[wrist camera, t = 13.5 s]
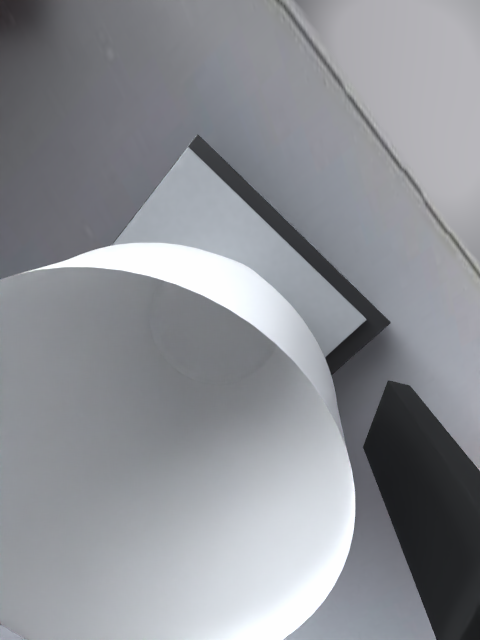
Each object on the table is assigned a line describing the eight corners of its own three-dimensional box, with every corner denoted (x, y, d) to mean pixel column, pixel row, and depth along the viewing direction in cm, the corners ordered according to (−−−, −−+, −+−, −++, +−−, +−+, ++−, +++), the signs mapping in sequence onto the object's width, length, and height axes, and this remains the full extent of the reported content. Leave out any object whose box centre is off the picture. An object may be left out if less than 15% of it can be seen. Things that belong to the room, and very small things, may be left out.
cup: (117, 378, 19) (-113, 612, 8) (143, 210, 17) (-144, 187, 5) (277, 420, 19) (284, 724, 8) (328, 257, 17) (456, 341, 5)
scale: (374, 308, 21) (395, 326, 17) (237, 433, 24) (230, 470, 20) (208, 146, 19) (194, 130, 16) (84, 303, 22) (49, 319, 19)
